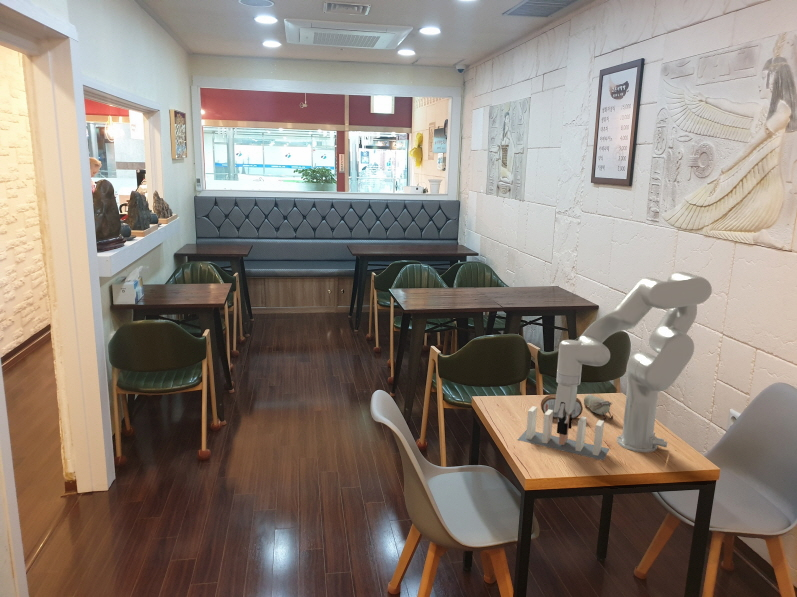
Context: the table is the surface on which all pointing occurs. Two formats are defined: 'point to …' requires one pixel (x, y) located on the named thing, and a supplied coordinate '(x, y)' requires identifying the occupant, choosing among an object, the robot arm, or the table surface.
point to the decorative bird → (598, 405)
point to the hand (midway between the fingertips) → (564, 430)
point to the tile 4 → (581, 433)
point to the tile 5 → (598, 437)
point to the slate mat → (565, 445)
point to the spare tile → (564, 437)
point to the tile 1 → (531, 422)
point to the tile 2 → (547, 426)
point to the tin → (550, 404)
